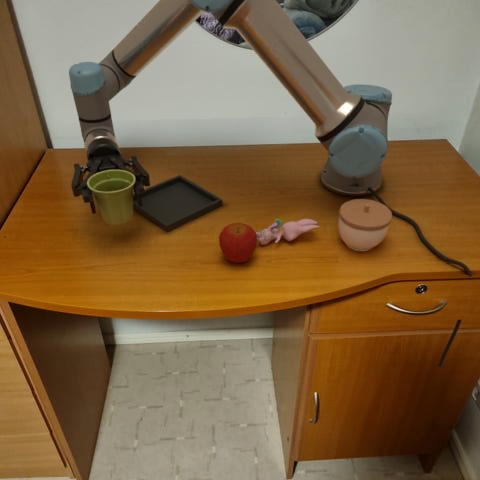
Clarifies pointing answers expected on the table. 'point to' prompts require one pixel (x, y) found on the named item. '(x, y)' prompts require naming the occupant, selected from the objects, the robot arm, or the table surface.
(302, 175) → the table surface
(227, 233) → the apple
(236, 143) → the table surface
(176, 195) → the drip tray
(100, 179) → the plant pot
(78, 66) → the robot arm
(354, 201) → the trinket box
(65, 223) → the table surface
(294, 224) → the pink toy figurine
